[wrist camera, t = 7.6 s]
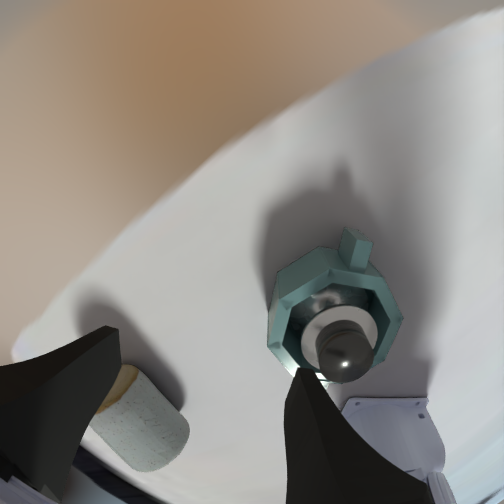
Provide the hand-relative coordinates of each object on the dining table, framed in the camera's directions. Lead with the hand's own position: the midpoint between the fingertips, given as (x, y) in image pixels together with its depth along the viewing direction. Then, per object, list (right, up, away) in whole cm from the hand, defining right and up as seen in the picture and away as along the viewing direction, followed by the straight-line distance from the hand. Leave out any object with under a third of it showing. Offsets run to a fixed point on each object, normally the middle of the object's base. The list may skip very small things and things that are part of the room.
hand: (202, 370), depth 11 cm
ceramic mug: (-9, -10, +15) cm, 20 cm away
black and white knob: (+7, +1, +9) cm, 12 cm away
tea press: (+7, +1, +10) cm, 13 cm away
